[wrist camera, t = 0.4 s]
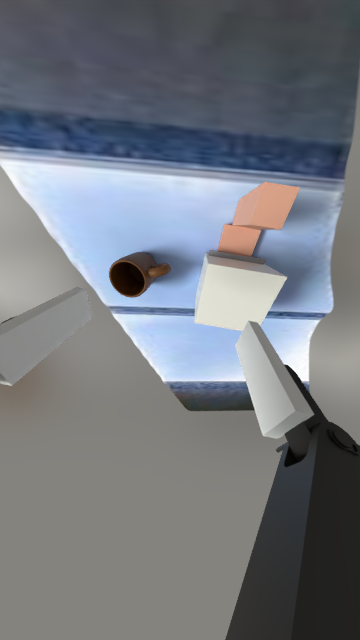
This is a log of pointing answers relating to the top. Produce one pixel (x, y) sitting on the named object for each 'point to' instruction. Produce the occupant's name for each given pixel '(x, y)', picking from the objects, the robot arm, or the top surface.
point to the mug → (135, 273)
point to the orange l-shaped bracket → (257, 217)
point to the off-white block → (235, 290)
